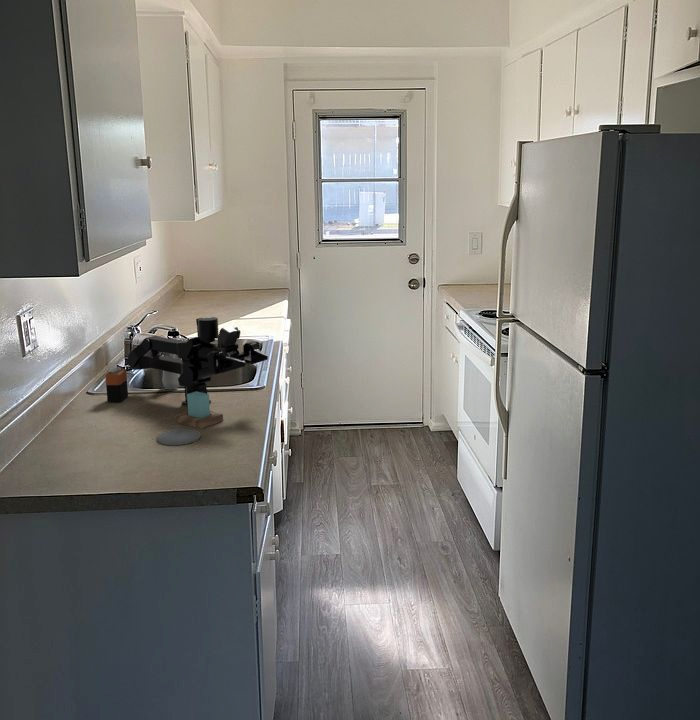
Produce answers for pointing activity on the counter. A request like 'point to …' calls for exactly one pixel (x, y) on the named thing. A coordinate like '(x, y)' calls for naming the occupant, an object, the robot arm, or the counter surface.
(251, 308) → the counter surface
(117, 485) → the counter surface
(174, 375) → the salt shaker
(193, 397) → the plug
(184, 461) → the counter surface
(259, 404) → the counter surface
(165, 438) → the coaster
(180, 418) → the brown flat piece
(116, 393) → the battery
